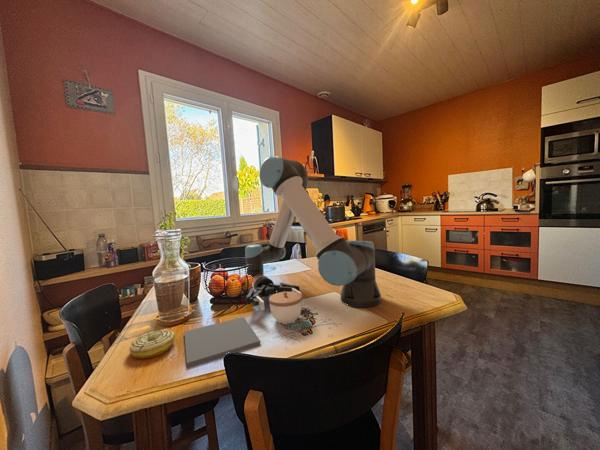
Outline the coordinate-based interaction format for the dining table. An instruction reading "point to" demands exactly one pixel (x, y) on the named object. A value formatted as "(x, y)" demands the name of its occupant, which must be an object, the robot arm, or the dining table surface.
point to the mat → (218, 340)
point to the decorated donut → (152, 344)
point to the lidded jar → (285, 306)
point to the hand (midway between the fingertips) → (282, 301)
